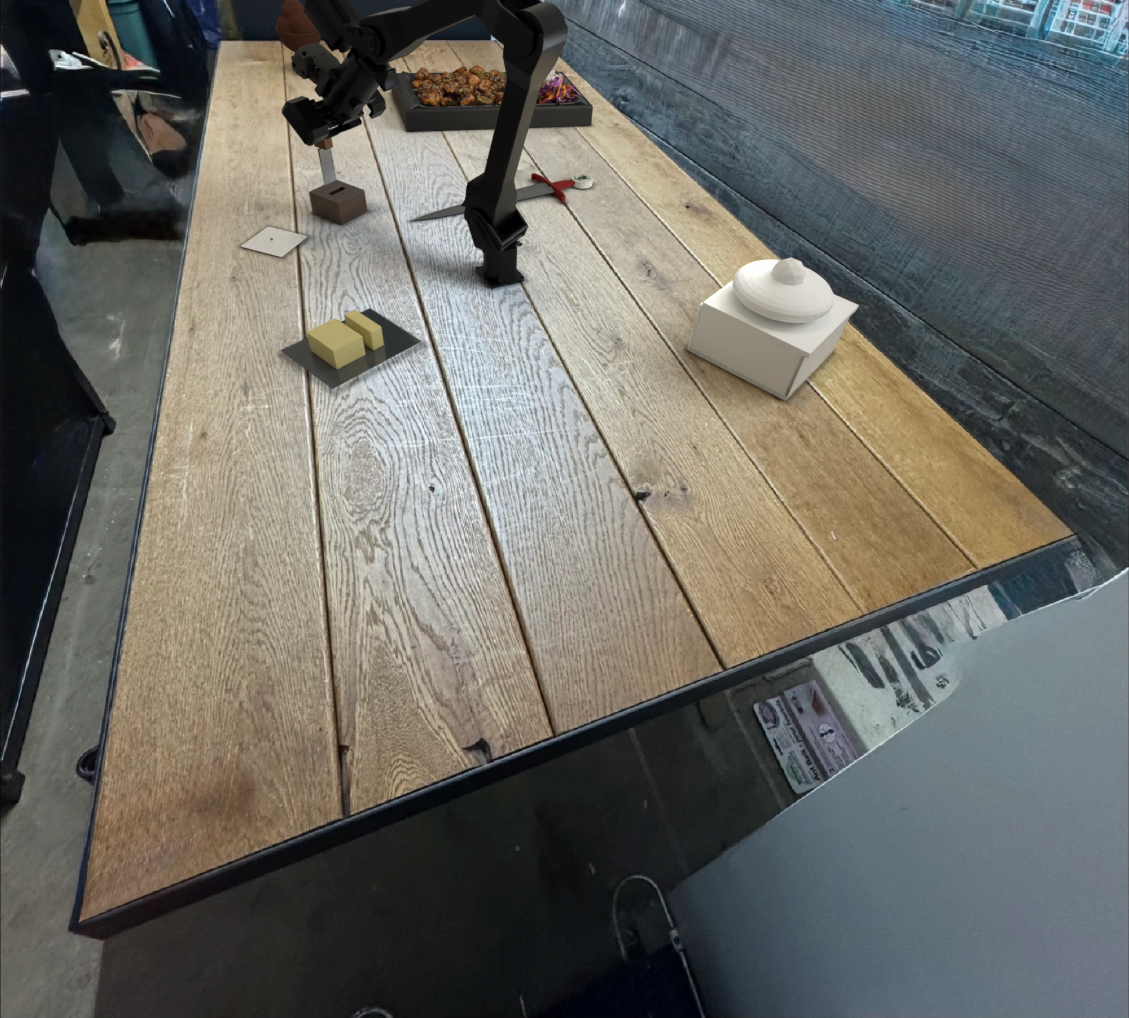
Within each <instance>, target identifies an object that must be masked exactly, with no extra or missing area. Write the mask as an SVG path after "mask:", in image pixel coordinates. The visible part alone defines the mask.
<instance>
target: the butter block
mask: <svg viewBox="0 0 1129 1018" xmlns="http://www.w3.org/2000/svg"><path fill="white" fill-rule="evenodd" d="M305 333H306V338H308V341H309V345H310V349H311V351H312V352H314V353H315V354H316V355H318V356H319V357H320V358H322V359H323V360H325V361H326V362H327V363H329V364H330V365H332V366H333V367H334V368H336V369H339V368H341V367H343V366H345V365H347V364H348V363H350V362H352V361H354V360H356V359H358V358H360V357H362V356H364V355H365V349H364V343H363V338H362V336H361V335H360V334H358V333H357V332H355V331H354V330H352V329H351V328H349V327H348V326H346V325H345V324H343V323H342V322H341V320H339V319H337V318H333V319H331V320H328V321H326V322H324V323H322V324H320V325H317V326H316V327H314V328H312V329H309V330H308V331H306V332H305Z"/></svg>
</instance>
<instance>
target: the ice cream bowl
mask: <svg viewBox="0 0 1129 1018" xmlns="http://www.w3.org/2000/svg"><path fill="white" fill-rule="evenodd" d="M303 6H304V5H303V4H302V3H301V2H300V1H299V0H284V1H283V2H282V4H281V8H280V10H281V13H280V15H279V16H278V18H277V19H276V25H274V28H275V32H276V34H277V35H276V36H277V37H278V39H279V40H280V42H281V44H283V46H285V47H286V48H287V49H288V50H290V51H291V52H292V53H293V52H294V53H295V51H296V50H299V47H301V46H304V45H307V44H311V43H319V44H321V39H322V37H321V36H320V34H319V33H318V32H317V30H316V29H315V27H314V26H313V24H312V23H311V22H310V20H309V19H308V17H307V16H306V14H305V13H304V11H303Z"/></svg>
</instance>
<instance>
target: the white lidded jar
mask: <svg viewBox="0 0 1129 1018" xmlns="http://www.w3.org/2000/svg"><path fill="white" fill-rule="evenodd" d="M859 307H860V304H857V303H855V302H852V301H851V300H848V299H846V298H844V297H842V296H839V295H836V294H834V292H833V290H832V288H831V285H830V284H829V283H828V282H827V281H826V280H825V279H824V278H823V277H822V276H821V275H819V274H818V273H817V272H815V271H814V270H812V269H810V268H808V267H806V266H804V264H803V262H802V261H801V260H799V259H796V258H794V257H788V258H784V259H762V260H761V259H760V260H754V261H751V262H749V263H747V264H745V265H743V266H741V267H740V268H739V269H738V270H737V271H736V272H735V274H734V276H733V278H732V280H731V281H730V282H728V283H727V284H726V285H724V286H722V287H721V288H720V289H718V291H716V292H715V293H713V294H712V295H711V296H710V297H708V298H707V299H705V300H704V301H702V302H701V303H699V304H698V308H697V312H696V314H695V318H694V322H693V326H692V330H691V334H690V337H689V340H688V344H687V349H686V351H688V352H690V353H692V354H694V355H696V356H698V357H700V358H702V359H703V360H705V361H708V362H709V363H711V364H713V365H715V366H717V367H719V368H721V369H723V370H725V371H727V372H728V373H731V374H732V375H735V376H736V377H738V378H740V379H742V380H744V381H746V382H748V383H750V384H751V385H753V386H756V387H757V388H759V389H761V390H763V391H765V392H767V393H768V394H771V395H773V396H774V397H776V398H779V399H781V400H783V401H784V402H786V401H788V399H789V398H790V397H791V396H792V395H793V394H794V393H795V392H796V391H797V390H798V389H799V387H800V386H801V385H803V384H804V382H805V381H807V379H808V378H809V377H810V376H811V375H812V374H813V373H814V372H815V371H816V370H817V369H818V368H819V367H820V366H821V365H822V364H823V363H824V362H825V361H826V360H827V359H828V357H829V356H830V355H832V353H834V351H835V349H836V347H837V345H838V343H839V340H840V338H841V336H842V335H843V333H844V330H845V328H846V326H847V325H848V322H849V320H850V317H851V316H853V314H854V313H856V312H857V310H858V309H859Z"/></svg>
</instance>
